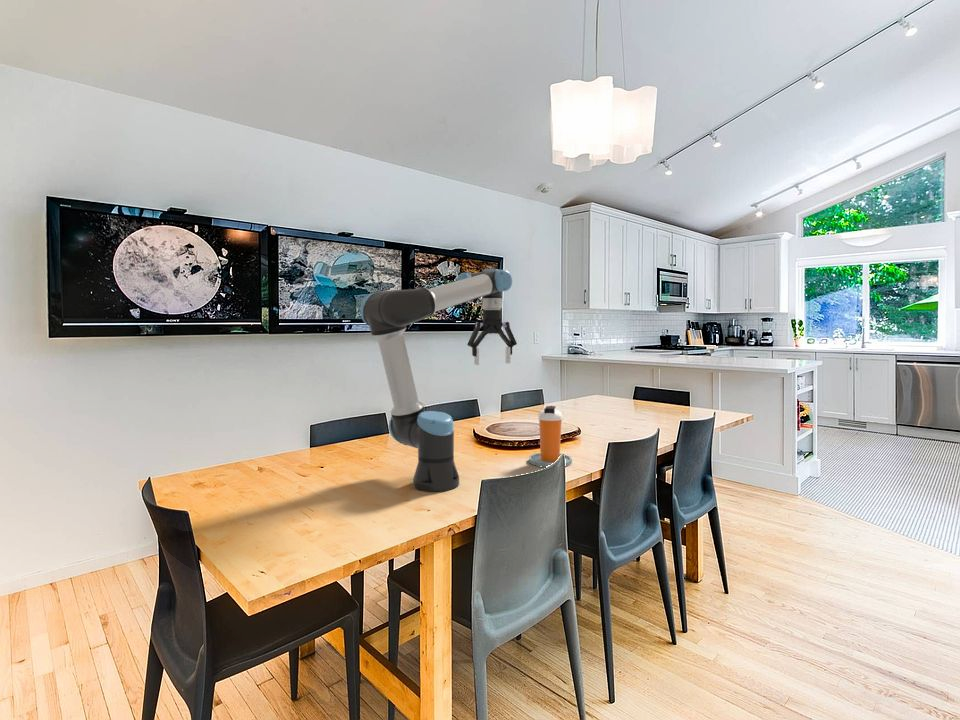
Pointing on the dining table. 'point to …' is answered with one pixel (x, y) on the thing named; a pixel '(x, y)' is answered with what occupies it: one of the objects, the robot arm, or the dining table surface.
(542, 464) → the saucer
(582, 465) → the dining table surface
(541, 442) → the shaker bottle
